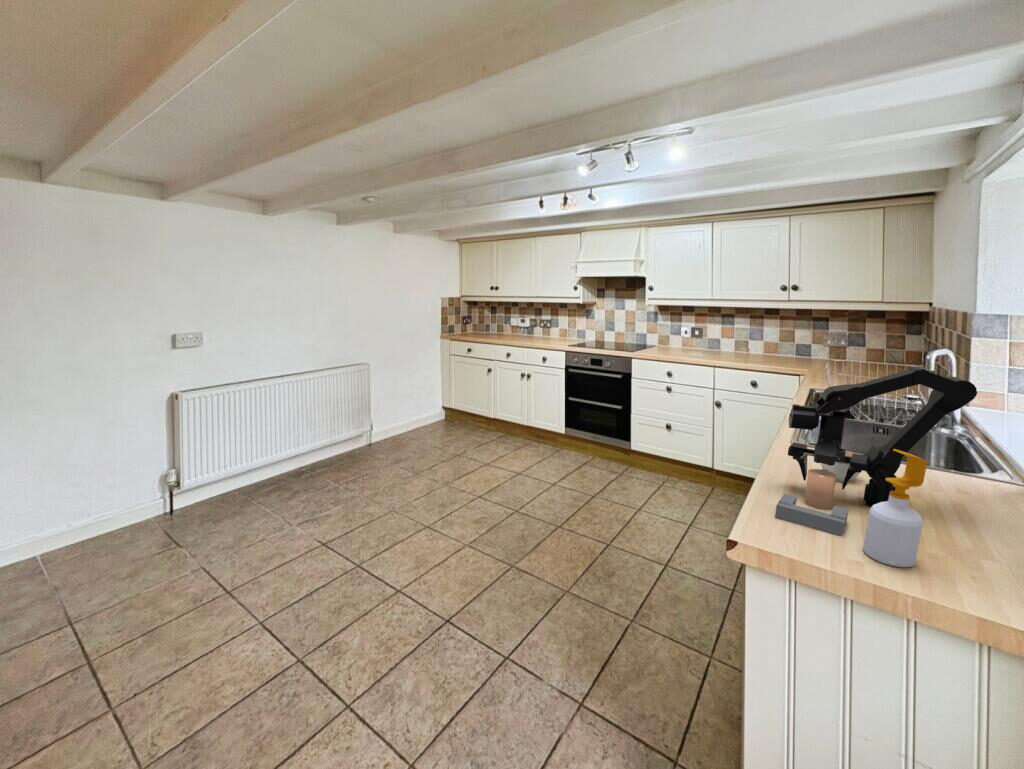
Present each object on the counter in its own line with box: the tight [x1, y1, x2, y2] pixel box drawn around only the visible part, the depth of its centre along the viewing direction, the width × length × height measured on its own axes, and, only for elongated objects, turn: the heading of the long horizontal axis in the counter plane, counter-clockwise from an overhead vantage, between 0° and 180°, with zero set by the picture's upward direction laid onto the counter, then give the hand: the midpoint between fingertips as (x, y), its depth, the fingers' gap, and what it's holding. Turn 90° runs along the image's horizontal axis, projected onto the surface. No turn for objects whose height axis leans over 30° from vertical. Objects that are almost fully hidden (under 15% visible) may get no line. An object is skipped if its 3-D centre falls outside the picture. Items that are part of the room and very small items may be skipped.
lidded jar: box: [820, 450, 860, 483], centre depth 145 cm, size 11×11×9 cm
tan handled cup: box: [803, 468, 836, 511], centre depth 129 cm, size 6×10×9 cm, turn 139°
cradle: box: [774, 492, 849, 537], centre depth 119 cm, size 14×9×4 cm, turn 49°
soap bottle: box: [862, 449, 928, 568], centre depth 101 cm, size 9×9×25 cm
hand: (823, 484), depth 133 cm, fingers open, 9 cm apart
